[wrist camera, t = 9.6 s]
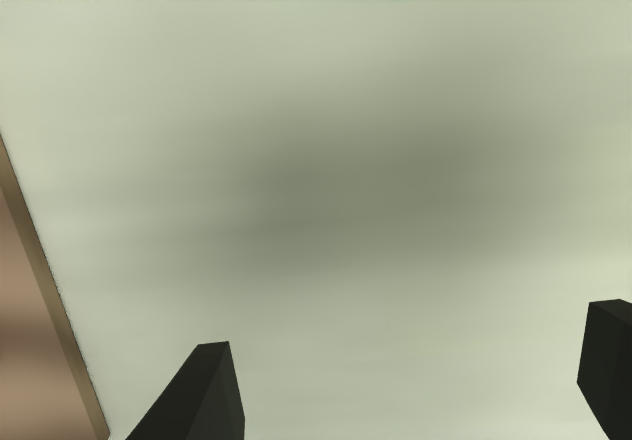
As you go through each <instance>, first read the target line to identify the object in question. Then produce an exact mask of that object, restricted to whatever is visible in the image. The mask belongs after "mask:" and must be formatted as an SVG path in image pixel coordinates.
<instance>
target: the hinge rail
mask: <svg viewBox="0 0 632 440" xmlns="http://www.w3.org/2000/svg"><path fill="white" fill-rule="evenodd" d="M109 435H110V433H109V430H108V428H107V425H106V422H105V419H104V417H103V414H102V411H101V409H100V406H99V403H98V400H97V398H96V395H95V392H94V389H93V387H92V384H91V381H90V379H89V376H88V373H87V370H86V368H85V365H84V362H83V360H82V357H81V354H80V351H79V349H78V346H77V343H76V340H75V338H74V335H73V332H72V330H71V327H70V324H69V321H68V319H67V316H66V313H65V310H64V308H63V305H62V302H61V300H60V297H59V294H58V291H57V289H56V286H55V283H54V281H53V278H52V275H51V272H50V270H49V267H48V264H47V261H46V259H45V256H44V253H43V251H42V248H41V245H40V242H39V240H38V237H37V234H36V232H35V229H34V226H33V223H32V221H31V218H30V215H29V212H28V210H27V207H26V204H25V202H24V199H23V196H22V193H21V191H20V188H19V185H18V183H17V180H16V177H15V174H14V172H13V169H12V166H11V163H10V161H9V158H8V155H7V153H6V150H5V147H4V144H3V142H2V139H1V136H0V440H108V438H109Z"/></svg>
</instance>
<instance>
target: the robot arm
mask: <svg viewBox="0 0 632 440" xmlns="http://www.w3.org/2000/svg"><path fill="white" fill-rule="evenodd" d="M577 384H578V386H579V388H580V390H581V391H582V393H583V395H584V397H585V399H586V401H587V403H588V405H589V407H590V408H591V410H592V412H593V414H594V415H595V417H596V419H597V421H598V422H599V424H600V426H601V427H602V429H603V431H604V432H605V434H606V435H607V437H608V438H609V439H610V440H632V303H629V302H626V301H624V300H621V299H615V300H606V301H596V302H589V307H588V313H587V320H586V326H585V333H584V339H583V345H582V352H581V358H580V365H579V371H578V377H577ZM244 429H245V416H244V412H243V407H242V402H241V397H240V393H239V388H238V383H237V378H236V373H235V369H234V364H233V359H232V354H231V350H230V345H229V341H226V342H217V343H207V344H198V345H197V347H196V348H195V349H194V350H193V352H192V353H191V354H190V356H189V357H188V358H187V360H186V361H185V362H184V364H183V365H182V367H181V368H180V369H179V371H178V372H177V373H176V375H175V376H174V377H173V379H172V380H171V382H170V383H169V384H168V386H167V387H166V388H165V390H164V391H163V392H162V394H161V395H160V396H159V398H158V399H157V400H156V402H155V403H154V404H153V405H152V407H151V408H150V409H149V411H148V412H147V413H146V414H145V416H144V417H143V418H142V419H141V421H140V422H139V423H138V425H137V426H136V427H135V428H134V430H133V431H132V432H131V433H130V435H129V436H128V437H127V438H126V439H125V440H244Z"/></svg>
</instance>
